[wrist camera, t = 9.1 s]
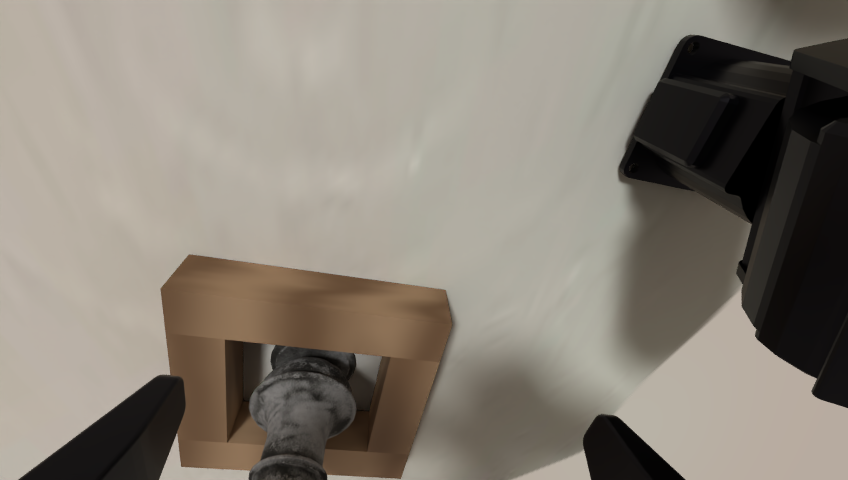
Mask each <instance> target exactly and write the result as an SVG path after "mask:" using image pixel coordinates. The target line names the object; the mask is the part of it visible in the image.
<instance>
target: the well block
mask: <svg viewBox="0 0 848 480" xmlns="http://www.w3.org/2000/svg"><path fill="white" fill-rule="evenodd" d="M161 296H162V305H163V314H164V322H165V331H166V339H167V348H168V357H169V365H170V374H171V375H173V376H180V377H182V378H183V381H184V389H185V400H186V407H185V412H184V416H183V418H182V421H181V424H180V426H179V429H178V431H177V434H178V443H179V451H180V460H181V467H195V468H214V469H232V470H251V469H252V467H253V466H254V465H255V464H257V463H258V462H259V461H260V459H261V456H262V452H263V449H264V445H265V442H266V438H267V432H266V431H264V430H263V429H262V428H260V427H259V426H258V425H257V423H256V422H255V421H254V419H253V418H252V416H251V413H250V410H249V402H250V401H243V341H244V342H254V343H263V344H272V345H282V346H291V347H301V348H310V349H319V350H329V351H338V352H347V353H357V354H366V355H376V356H382V359H381V363H380V368H379V372H378V376H377V380H376V384H375V389H374V393H373V397H372V401H371V406H370V410H369V411H359V410H356V414H355V417H354V420H353V422H352V423H351V424H350V426H349V427H348V428H347V429H345V430H344V431H343V432H341V433H340V434H339V435H336V436H334V437H332V438H329V439H327V442H326V446H325V453H324V460H323V468H324V470H325V471H326V473H327V475H343V476H361V477H380V478H398V479H401V477H402V474H403V471H404V468H405V465H406V462H407V459H408V456H409V453H410V450H411V447H412V444H413V441H414V438H415V435H416V432H417V429H418V426H419V423H420V420H421V417H422V414H423V411H424V408H425V405H426V402H427V399H428V396H429V393H430V390H431V387H432V384H433V381H434V378H435V375H436V372H437V369H438V366H439V363H440V360H441V357H442V354H443V351H444V348H445V345H446V342H447V339H448V336H449V333H450V330H451V327H452V321H451V316H450V311H449V305H448V300H447V295H446V290H441V289H434V288H427V287H420V286H412V285H405V284H398V283H391V282H384V281H377V280H369V279H362V278H355V277H348V276H341V275H333V274H326V273H319V272H312V271H305V270H297V269H290V268H283V267H276V266H269V265H261V264H254V263H247V262H240V261H233V260H225V259H218V258H211V257H204V256H197V255H188V256H187V258H186V259H185V260H184V261H183V262H182V264H181V265H180V266H179V267H178V268H177V270H176V271H175V272H174V273H173V274H172V276H171V277H170V278H169V279H168V280H167V282H166V283H165V284H164V285H163V286H162V288H161Z"/></svg>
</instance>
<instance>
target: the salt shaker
mask: <svg viewBox="0 0 848 480" xmlns="http://www.w3.org/2000/svg"><path fill="white" fill-rule="evenodd" d="M271 365H272V369H273V371H272V372H271V373H270V374H269V375H268V376H267V377H266V378H265V379H264V381H263V382H262V383H261V384H260V385H259V386H258V387H256V388H255V390H254V392H253V393H252V395H251V397H250V402H249V410H250V413H251V416H252V418H253V419H254V421H255V422H256V423H257V425H258V426H259V427H260V428H262V429H263V430H264V431H266V432H267V438H266V442H265V445H264V449H263V452H262V456H261V459H260V461H259V462H258V463H257V464H255V465H254V466H253V467H252V469H251V470H250V473H249V480H327V473H326V471H325V470H324V468H323V460H324V453H325V446H326V442H327V439H329V438H332V437H334V436H336V435H339V434H340V433H341V432H343V431H344V430H345V429H347V428H348V427H349V426H350V424H351V423H352V422H353V420H354V417H355V414H356V401H355V399H354V397H353V395H352V392H351V388H350V385H349V383H348V380H349V378H350V377H351V376H352V374H353V373H354V369H355V366H356V361H355V355H354V353H347V352H338V351H329V350H319V349H310V348H301V347H291V346H282V345H276V346H275V348H274V349H273V351H272V354H271Z"/></svg>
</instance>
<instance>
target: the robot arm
mask: <svg viewBox="0 0 848 480" xmlns="http://www.w3.org/2000/svg"><path fill="white" fill-rule="evenodd" d="M691 43H693V45H694V46H693V49H692V50H691V52H689V53H688V47H689V45H690V44H691ZM632 164H635V165H634V168H633V169H631V170H629V167H630V166H631V165H632ZM620 171H621V173H622V174H623V175H625V176H626V177H629V178H633V179H638V180H642V181H647V182H652V183H657V184H662V185H667V186H672V187H676V188H681V189H686V190H691V191H696V192H698V193H699V194H701V195H703V196H705V197H706V198H708V199H710V200H711V201H713V202H715V203H716V204H718V205H720V206H722V207H723V208H725V209H727V210H728V211H730V212H732V213H733V214H735V215H737V216H739V217H740V218H742V219H744V220H745V221H747V222H749V223H750V224H752V226H751V230H750V234H749V238H748V242H747V245H746V249H745V253H744V257H743V260H741V261H739V263H738V267H737V271H736V274H737V276H738V277H739V279H740V281H741V282H742V284H743V286H742V308H743V309H744V311H745V313H746V314H747V316H748V318H749V319H750V321H751V323H752V324H753V326H754V327H755V328H756V329H757V330H756V333H755V337H756V338H757V340H759V341H760V342H761V343H762V344H763V345H764V346H766V347H767V348H768V349H769V350H770V351H772V352H773V353H774V354H775V355H777V356H778V357H780V358H781V359H783V360H784V361H786V362H788V363H789V364H791V365H793V366H794V367H796V368H797V369H799V370H801V371H802V372H804V373H806V374H808V375H810V376H812V377H815V378H817V380H816V382H815V384H814V387H813V389H812V394H813V395H814V396H815V397H817V398H819V399H821V400H824V401H827V402H830V403H834V404H837V405H840V406H843V407H846V408H848V38H847V39H842V40H837V41H832V42H827V43H823V44H818V45H813V46H808V47H803V48H798V49H795V50H794V52H793V56H792V59H791V61H788V60H785V59H781V58H778V57H774V56H770V55H767V54H763V53H760V52H756V51H753V50H749V49H746V48H742V47H739V46H735V45H732V44H728V43H725V42H721V41H718V40H714V39H711V38H707V37H704V36H700V35H688V36H685V37H684V38H683V39H682V40H681V41H680V42H679V44H678V45H677V47H676V49H675V52H674V54H673V56H672V58H671V60H670V62H669V64H668V66H667V68H666V70H665V72H664V75H663V77H662V79H661V81H660V82H658V84H657V86H656V88H655V90H654V92H653V94H652V96H651V99H650V101H649V103H648V105H647V107H646V109H645V111H644V113H643V115H642V117H641V120H640V122H639V124H638V126H637V128H636V130H635V132H634V137H633V139H632V141H631V144H630V146H629V148H628V150H627V152H626V154H625V156H624V158H623V160H622V162H621V165H620ZM185 407H186V400H185V389H184V381H183V378H182V377H180V376H173V375H159V376H157V377H155V378H154V379H152V380H151V381H150V382H148V383H147V384H146V385H144V386H143V387H142V388H140V389H139V390H137V391H136V392H135V393H133V394H132V395H131V396H129V397H128V398H127V399H125V400H124V401H123V402H121V403H120V404H119V405H117V406H116V407H115V408H113V409H112V410H111V411H109V412H108V413H107V414H105V415H104V416H103V417H101V418H100V419H99V420H97V421H96V422H95V423H93V424H92V425H91V426H89V427H88V428H87V429H85V430H84V431H83V432H81V433H80V434H79V435H77V436H76V437H75V438H73V439H72V440H71V441H69V442H68V443H67V444H65V445H64V446H63V447H61V448H60V449H59V450H57V451H56V452H55V453H53V454H52V455H51V456H49V457H48V458H47V459H45V460H44V461H43V462H41V463H40V464H39V465H37V466H36V467H35V468H33V469H32V470H31V471H29V472H28V473H27V474H25V475H24V476H23V477H21V478H20V479H19V480H159V478H160V476H161V473H162V470H163V468H164V465H165V463H166V460H167V457H168V455H169V452H170V450H171V447H172V444H173V442H174V439H175V437H176V434H177V431H178V429H179V426H180V424H181V421H182V418H183V416H184V412H185ZM583 446H584V451H585V455H586V459H587V464H588V468H589V472H590V477H591V480H685V479H684V478H683V477H682V476H681V475H680V474H679V473H678V472H677V471H676V470H674V469H673V468H672V467H671V466H670V465H669V464H668V463H667V462H666V461H665V460H664V459H663V458H662V457H660V456H659V455H658V454H657V453H656V452H655V451H654V450H653V449H652V448H651V447H650V446H649V445H648V444H646V443H645V442H644V441H643V440H642V439H641V438H640V437H639V436H638V435H637V434H636V433H635V432H634V431H633V430H632V429H630V428H629V427H628V426H627V425H626V424H625V423H624V422H623V421H622V420H621V419H620V418H618V417H617V416H614V415H606V414H600V415H598V416H596V418H595V419H594V421H593V422H592V424H591V425H590V427H589V428H588V430H587V431H586V433H585V435H584V438H583Z"/></svg>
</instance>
